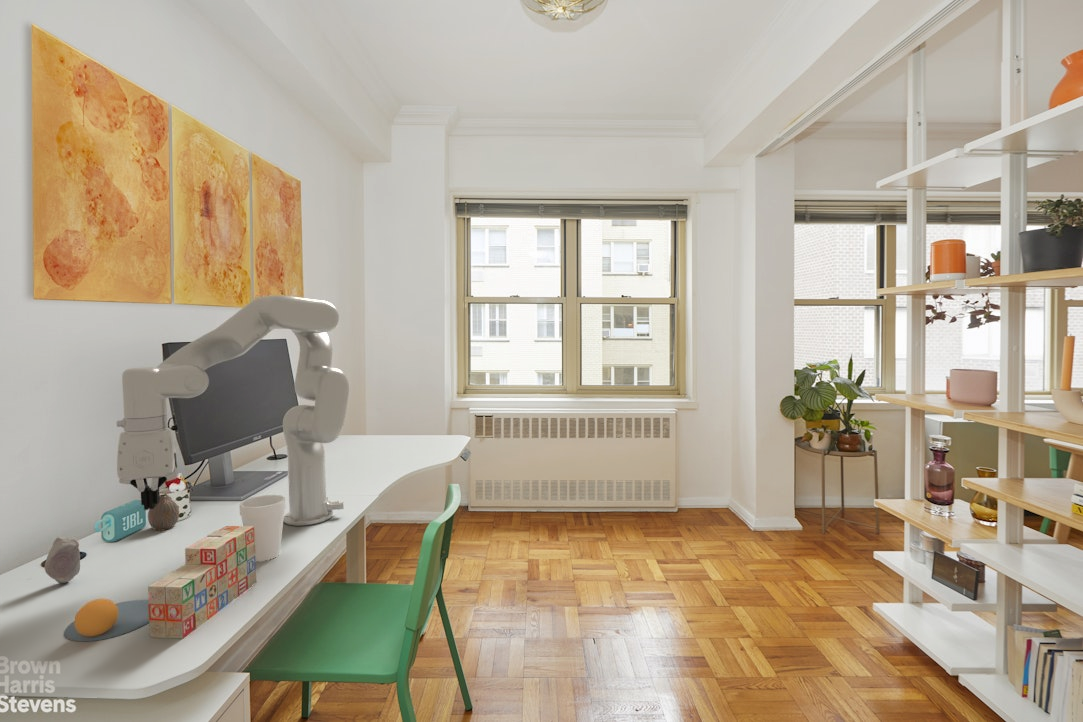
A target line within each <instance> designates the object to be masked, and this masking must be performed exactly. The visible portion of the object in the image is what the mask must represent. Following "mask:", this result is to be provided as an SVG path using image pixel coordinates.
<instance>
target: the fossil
mask: <svg viewBox="0 0 1083 722" xmlns="http://www.w3.org/2000/svg"><path fill="white" fill-rule="evenodd" d="M44 563H45V564H44V572H45V573H46V575H47V576H49V577H50V578H51V579H52V580H55V582H57V583H59V584H67V583H69V582H71V581H72V580H73V579H74V578H75V577H76V576H77V575H79V572H80V571H81V570H80V569H81V550H80V542H79V540H78V539H76V538H70V537H62V536H61V537H60V536H57V538H55V540H54V541H53V543H52V546H51V547H50V550H49V552H48V554H47V556H46V560H45V562H44ZM66 582H67V583H66Z"/></svg>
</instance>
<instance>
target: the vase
mask: <svg viewBox="0 0 1083 722" xmlns="http://www.w3.org/2000/svg"><path fill="white" fill-rule="evenodd" d="M159 495H160V502H159V504H157V506H156V507H155V508H154V509H148V513H147V520H148V523H149V526H150V527H151V528H153V529H154V530H156V531H165V530H169V529H171V528H174V526H176V524H177V523H178V521H179V518H180V509H179V506H178V504H177V503H176V502H175V501H174V500H173V499H172V498H171V497H170V495H169V494H168V493H167V494H166V493H163V494H159Z"/></svg>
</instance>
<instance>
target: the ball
mask: <svg viewBox="0 0 1083 722" xmlns="http://www.w3.org/2000/svg"><path fill="white" fill-rule="evenodd" d="M118 614H119V611H118V607H117V605H116V602H114V601H113V600H110V599H108V598H97V599H94V600H91V601H89V602H87V603H85V604H84V605H83V606H82V607H81V608H80V609H78V611H77V613H76V614H75V617H74V621H75V628H76V630H77V631H78V632H79V633H80V634H82V635H84V636H89V637H93V636H98V635H101V634H103V633H105V632H107V631H108V630H109V629H111V628H112V627H113V625H114V624H115V623H116V621H117V619H118Z"/></svg>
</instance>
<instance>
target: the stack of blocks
mask: <svg viewBox="0 0 1083 722" xmlns="http://www.w3.org/2000/svg"><path fill="white" fill-rule="evenodd" d="M254 540H255V534H254V526H243V525H226V526H224V527H222V528H220V529H218V530H215V531H213V532H211V533H209V534H207V536H204V537H202V538H200V539H199V540H197V541H196V542H194V543H192V544H190V545H188V546H187V547H185V548H184V554H185V555H184V556H185V564H184V565H181V566H180V567H179V568H177V569H175V570H173V571H171V572H170V573H168V574H166V575H164V576H163V577H161V578H160V579H158V580H156V581H155V582H153V583H152V584H149V585H148V586H147V587H148V588H147V589H148V600H149V604H148V609H149V620H150V621H149V623H148V624H149V637H150V638H159V639H160V638H161V639H163V638H164V639H184V638H185V637H187V636H188V635H189V634H191V633H192V632H193V631H194V630H195V629H197V628H199V627H200V626H202V625H203V624H204V623H206V622H207V621H208V620H210V619H211V618H212V617H213V616H215V615H216V614H217V613H218V612H220V611H221V610H222V609H223V608H225V607H226V606H227V605H229V604H230V603H231V602H233V601H234V600H235V599H236V598H238V597H240V595H242V594H243V593H245V592H246V591H247V590H249V589H250V588H251V587H252V585H253V584H254V583H255V584H256V583H257V582H258V581H257V567H256V565H257V564H256V563H257V562H256V561H255V554H256V550H255V541H254ZM255 584H254V585H255ZM254 585H253V586H254ZM248 588H249V589H248Z"/></svg>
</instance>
